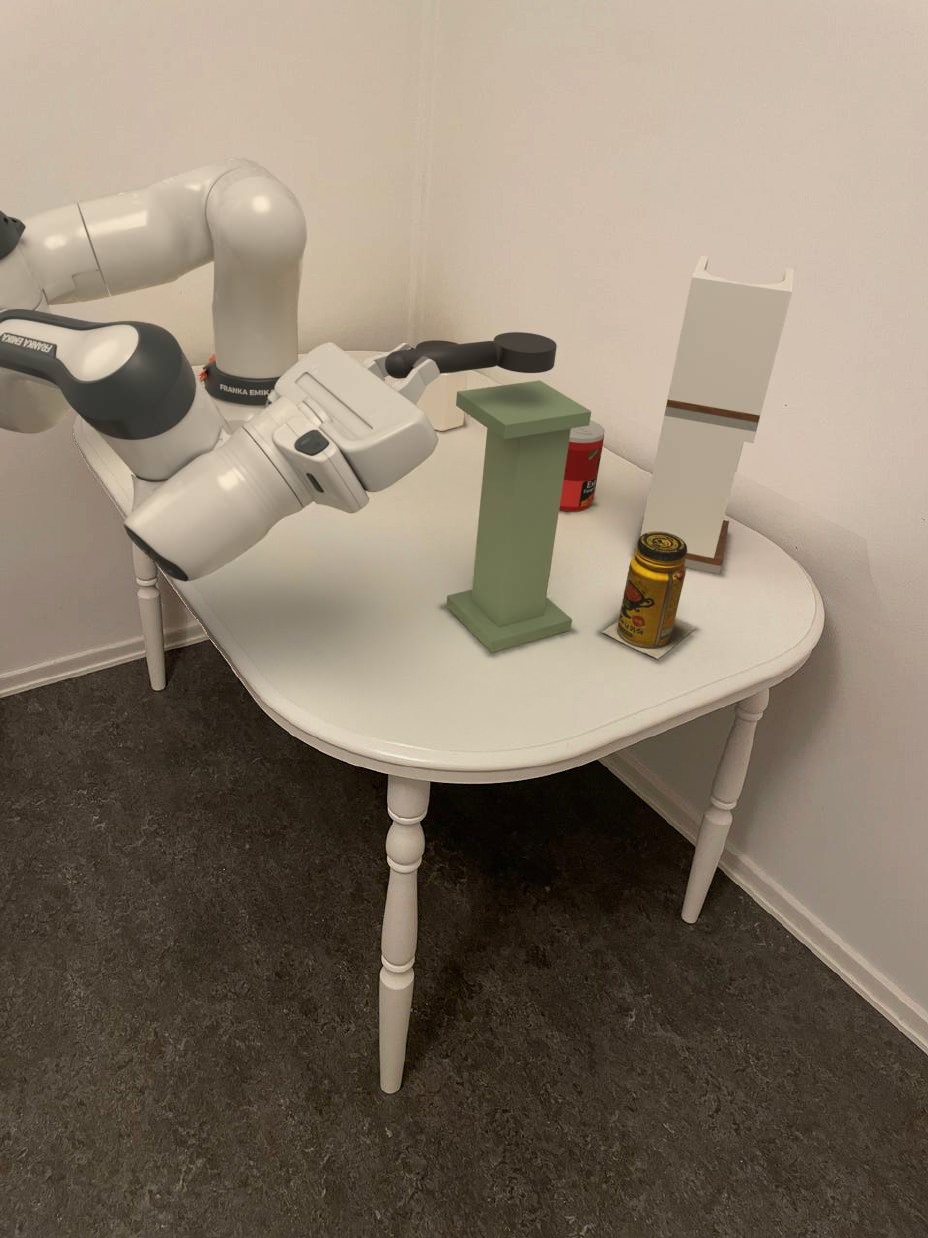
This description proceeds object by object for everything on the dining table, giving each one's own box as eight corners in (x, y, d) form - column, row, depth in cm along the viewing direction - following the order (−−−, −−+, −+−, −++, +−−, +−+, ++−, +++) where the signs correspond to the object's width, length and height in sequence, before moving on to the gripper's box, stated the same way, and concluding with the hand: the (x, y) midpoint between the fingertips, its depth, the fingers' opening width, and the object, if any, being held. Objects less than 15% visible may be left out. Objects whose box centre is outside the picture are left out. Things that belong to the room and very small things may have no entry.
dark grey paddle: (401, 390, 83) (402, 363, 82) (370, 368, 87) (371, 342, 86) (566, 369, 91) (569, 344, 90) (531, 349, 95) (534, 325, 94)
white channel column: (719, 574, 121) (792, 291, 102) (636, 556, 123) (691, 277, 104) (725, 534, 131) (793, 268, 111) (648, 518, 133) (701, 255, 113)
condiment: (601, 633, 108) (619, 539, 101) (640, 605, 114) (659, 515, 107) (657, 661, 104) (679, 566, 98) (694, 630, 110) (718, 538, 103)
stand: (483, 655, 103) (508, 426, 88) (438, 608, 110) (454, 389, 95) (570, 630, 108) (607, 411, 94) (522, 587, 115) (549, 376, 101)
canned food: (590, 516, 132) (603, 441, 126) (533, 507, 133) (542, 432, 127) (595, 492, 138) (607, 420, 132) (540, 484, 139) (550, 412, 133)
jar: (467, 431, 154) (473, 357, 147) (417, 432, 152) (421, 357, 145) (455, 410, 161) (461, 339, 154) (407, 410, 159) (411, 338, 152)
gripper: (274, 430, 94) (386, 349, 95) (364, 522, 79) (494, 425, 81) (240, 380, 89) (358, 295, 91) (329, 468, 75) (467, 365, 77)
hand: (423, 357), depth 86 cm, fingers closed on dark grey paddle, 2 cm apart
